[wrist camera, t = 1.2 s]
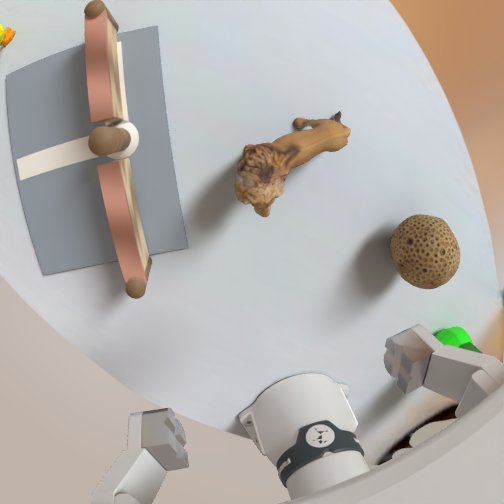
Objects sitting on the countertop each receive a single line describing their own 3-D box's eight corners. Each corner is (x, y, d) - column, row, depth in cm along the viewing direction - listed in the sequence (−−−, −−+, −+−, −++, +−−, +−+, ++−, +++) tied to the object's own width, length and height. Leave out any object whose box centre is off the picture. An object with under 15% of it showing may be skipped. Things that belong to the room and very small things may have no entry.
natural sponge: (363, 259, 38) (408, 295, 29) (389, 194, 35) (443, 216, 26) (409, 272, 41) (453, 305, 32) (432, 216, 38) (483, 239, 29)
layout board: (187, 246, 33) (188, 248, 32) (44, 273, 30) (43, 275, 30) (157, 26, 24) (157, 25, 23) (7, 75, 21) (5, 75, 21)
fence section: (133, 148, 28) (118, 152, 22) (111, 153, 28) (90, 159, 21) (120, 19, 22) (105, -7, 16) (99, 25, 22) (79, 2, 16)
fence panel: (112, 160, 27) (94, 166, 21) (130, 156, 28) (116, 161, 22) (137, 270, 32) (128, 299, 26) (153, 267, 32) (147, 296, 26)
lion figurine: (243, 207, 33) (263, 233, 24) (213, 167, 30) (222, 179, 22) (349, 131, 32) (396, 134, 23) (324, 91, 29) (368, 80, 21)
